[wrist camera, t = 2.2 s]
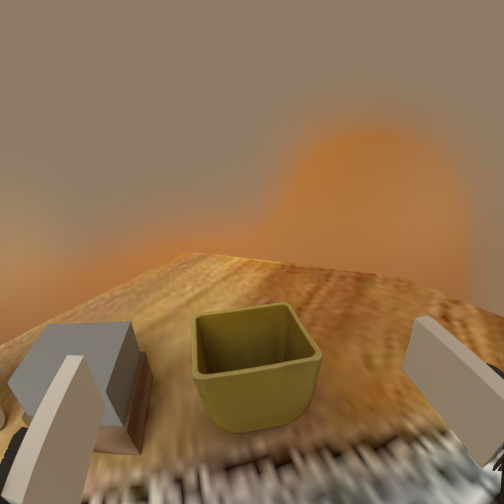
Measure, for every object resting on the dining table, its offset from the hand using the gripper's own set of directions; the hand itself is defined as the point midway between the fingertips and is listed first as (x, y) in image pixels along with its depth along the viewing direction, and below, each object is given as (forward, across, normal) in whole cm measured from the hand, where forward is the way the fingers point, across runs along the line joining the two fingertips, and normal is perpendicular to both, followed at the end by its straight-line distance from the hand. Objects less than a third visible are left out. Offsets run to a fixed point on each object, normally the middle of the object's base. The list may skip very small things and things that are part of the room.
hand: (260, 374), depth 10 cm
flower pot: (+11, +1, -14) cm, 18 cm away
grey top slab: (+12, -15, -11) cm, 22 cm away
